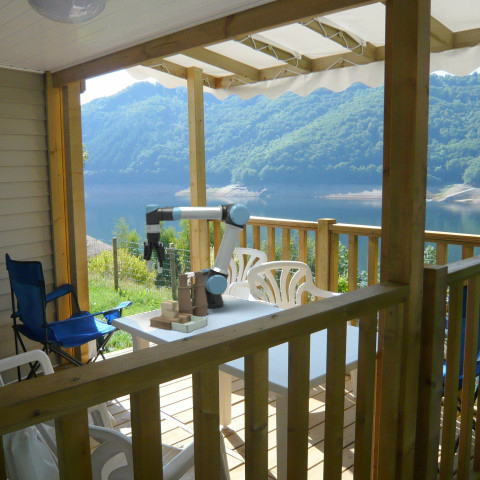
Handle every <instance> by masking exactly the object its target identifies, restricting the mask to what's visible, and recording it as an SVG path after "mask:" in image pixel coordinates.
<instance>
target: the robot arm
mask: <svg viewBox="0 0 480 480" xmlns="http://www.w3.org/2000/svg"><path fill="white" fill-rule="evenodd" d="M250 219H251V212H250V209H249V208H248V207H247V206H246V205H244V204H242V203H230V204H229V203H228V204H219V205H218V206H168V205H167V206H163V207H160V205H159V204H147V205H145V226H146V227H145V228H146V229H145V230H146V240H147V241H144V242H143V257H142V258H143V260H145V261H146V263H145V264H146V267H147V268H146V270H147V273H151V272H153V265H152V254H153V251H154V252H155V254H156V256H157V260H158V261H157V274H163V267H164V265H163V263H164V261H166V260H167V259H166V254H165V252H166V251H165V243H164V242H161V240H160V239H161V232H160V231H161V226H160V225H161V223H160V222H172V221H174V222H176V221H180V220H218V221H219V222H222V221H223V222H224V225H225V229H224V232H223V236H222V239H221V242H220V244H219V247H218V251H217V254H216V257H215V260H214V263H213V266H211V267H210V268H202V269H201V270H200V271H202V272H203V274H202V275H203V283H204V284H205V285H204V287H205V293H206V299H207V303H208V305H207V307H208V309H218V308H222V307H224V305H225V303H224V301H225V300H223V296H222V294H223V293H225V292H226V290H227V288H228V278H229V275H230V273H229V272H228V270H229V267H230V264H231V260H232V258H233V255H234V253H235V252H234V251H235V250H236V249H235V248H236V245H237V242H238V239H239V237H240V233H241V232H242V231H243V230H244V229H245V227H246V224H247V223H248V222H249V221H250Z"/></svg>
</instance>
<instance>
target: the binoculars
mask: <svg viewBox="0 0 480 480" xmlns="http://www.w3.org/2000/svg"><path fill="white" fill-rule="evenodd" d="M193 274H194V275H193V276H192V275H191V276H189V274H188V273H179V274H178V283H179V286H178V287H177V298H176V301H178V306H179V313H186V314H192V315H193V316H197V317H205V316H208V315H209V314H208V312H209V311H208V309H209V308H208V307H207V305H208V303H207V299H206V293H205V287H204V285H205V284H204V283H203V275H202V274H203V272H202V271H201V270H196V271H193ZM188 276H189V277H188ZM189 279H190V285H188V280H189ZM193 279H194V281H193Z"/></svg>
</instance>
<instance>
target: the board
mask: <svg viewBox="0 0 480 480" xmlns="http://www.w3.org/2000/svg"><path fill="white" fill-rule="evenodd" d="M191 316H193V315H192V314H186V313H179V316H178V317H175V318H172V319H170V318H165V317H161V315H158V316H155V317H152V318H150V319H149V324H150V325H149V326H150V327H152V328H158V329H162V330H168V331H173V330H172V327H171V322H174V323H179V324H185V323H187V322H190V321H191Z"/></svg>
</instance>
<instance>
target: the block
mask: <svg viewBox="0 0 480 480" xmlns="http://www.w3.org/2000/svg"><path fill="white" fill-rule="evenodd" d="M160 311H161V313H160V314H161V315H160V316H161V317H165V318H170V319H172V318H175V317H178V316H179V306H178V301H177V300H171V299H167V300H164V301H161V302H160Z"/></svg>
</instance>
